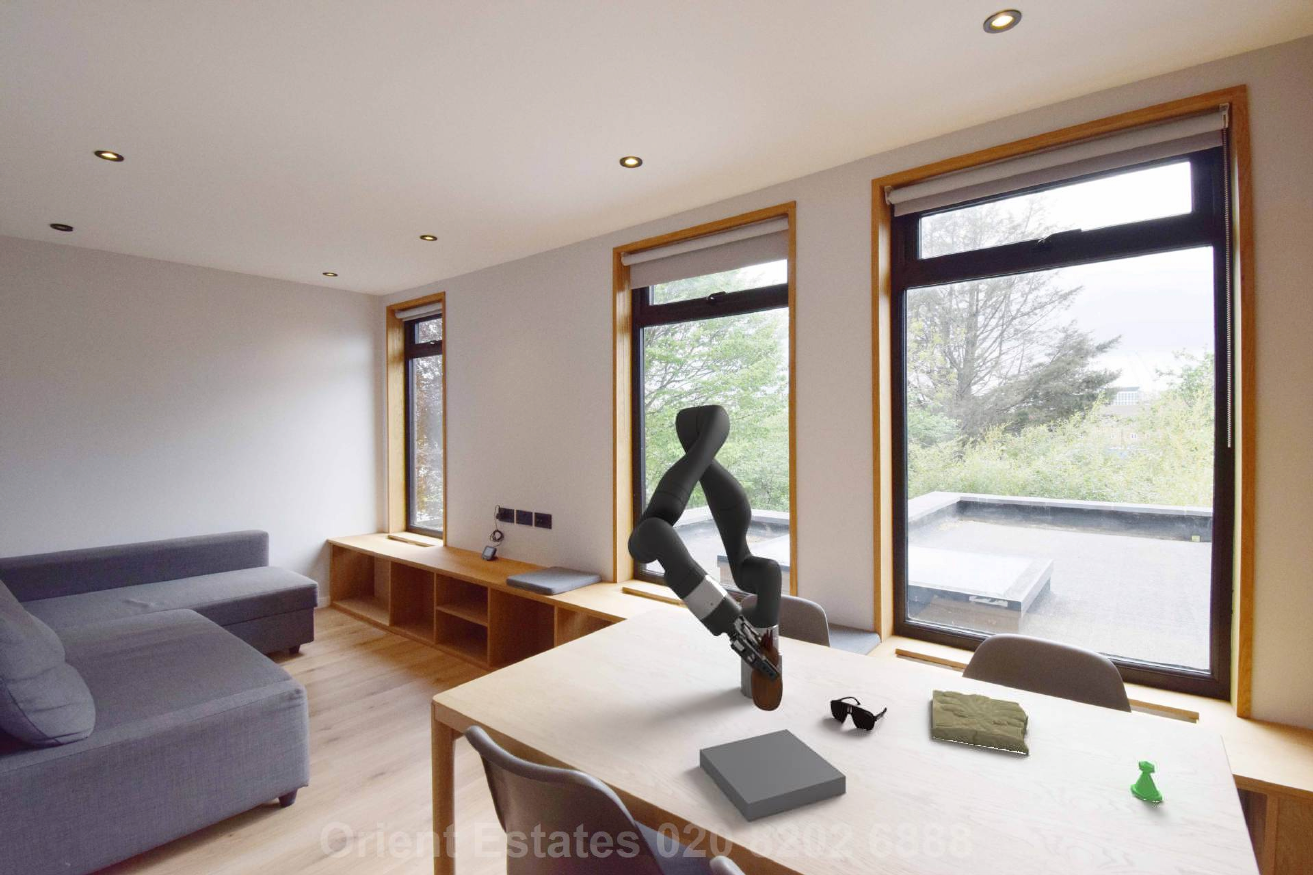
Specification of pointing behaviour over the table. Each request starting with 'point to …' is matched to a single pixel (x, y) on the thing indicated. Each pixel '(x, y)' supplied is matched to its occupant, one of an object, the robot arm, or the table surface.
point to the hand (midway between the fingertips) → (775, 670)
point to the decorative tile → (979, 720)
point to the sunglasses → (854, 713)
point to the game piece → (1146, 783)
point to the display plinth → (771, 774)
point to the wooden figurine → (761, 687)
